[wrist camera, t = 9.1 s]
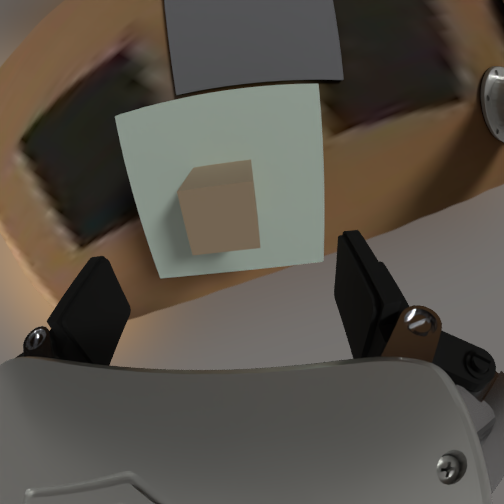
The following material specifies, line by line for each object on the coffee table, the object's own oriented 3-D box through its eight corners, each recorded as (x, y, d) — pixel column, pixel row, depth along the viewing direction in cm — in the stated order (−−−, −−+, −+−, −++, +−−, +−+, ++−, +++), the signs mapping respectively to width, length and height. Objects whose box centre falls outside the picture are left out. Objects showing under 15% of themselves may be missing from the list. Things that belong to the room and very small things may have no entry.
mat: (320, -46, 15) (321, -48, 15) (341, 80, 25) (343, 80, 24) (162, -32, 16) (161, -34, 16) (177, 95, 26) (176, 95, 25)
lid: (314, 84, 16) (343, 80, 11) (320, 253, 24) (339, 301, 18) (121, 114, 17) (77, 126, 12) (163, 270, 24) (145, 319, 19)
